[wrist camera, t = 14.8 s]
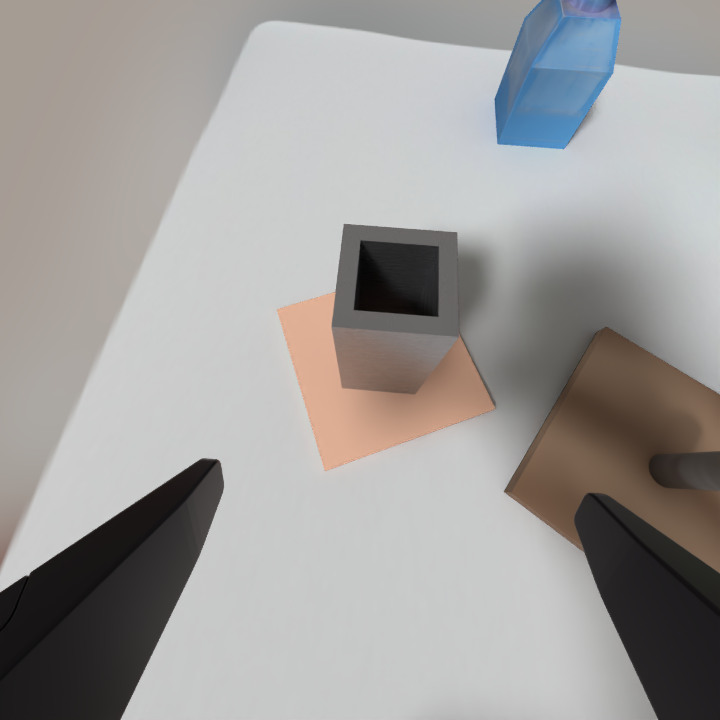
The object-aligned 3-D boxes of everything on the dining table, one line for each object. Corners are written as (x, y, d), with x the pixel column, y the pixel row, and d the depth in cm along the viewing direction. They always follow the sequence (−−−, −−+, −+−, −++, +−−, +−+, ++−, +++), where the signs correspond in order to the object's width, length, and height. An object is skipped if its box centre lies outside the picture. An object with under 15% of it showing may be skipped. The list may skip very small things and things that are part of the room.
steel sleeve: (415, 394, 22) (459, 337, 13) (342, 388, 22) (331, 326, 13) (417, 327, 24) (457, 232, 14) (348, 322, 24) (343, 224, 14)
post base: (725, 658, 18) (857, 725, 13) (504, 491, 21) (547, 498, 16) (792, 451, 22) (913, 445, 17) (596, 332, 24) (654, 298, 20)
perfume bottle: (563, 149, 30) (687, -42, 19) (497, 144, 31) (580, -49, 19) (556, 103, 32) (664, -94, 21) (494, 99, 33) (568, -100, 21)
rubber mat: (325, 470, 21) (324, 470, 20) (278, 312, 25) (276, 309, 24) (492, 410, 22) (495, 408, 22) (424, 268, 26) (425, 264, 26)
